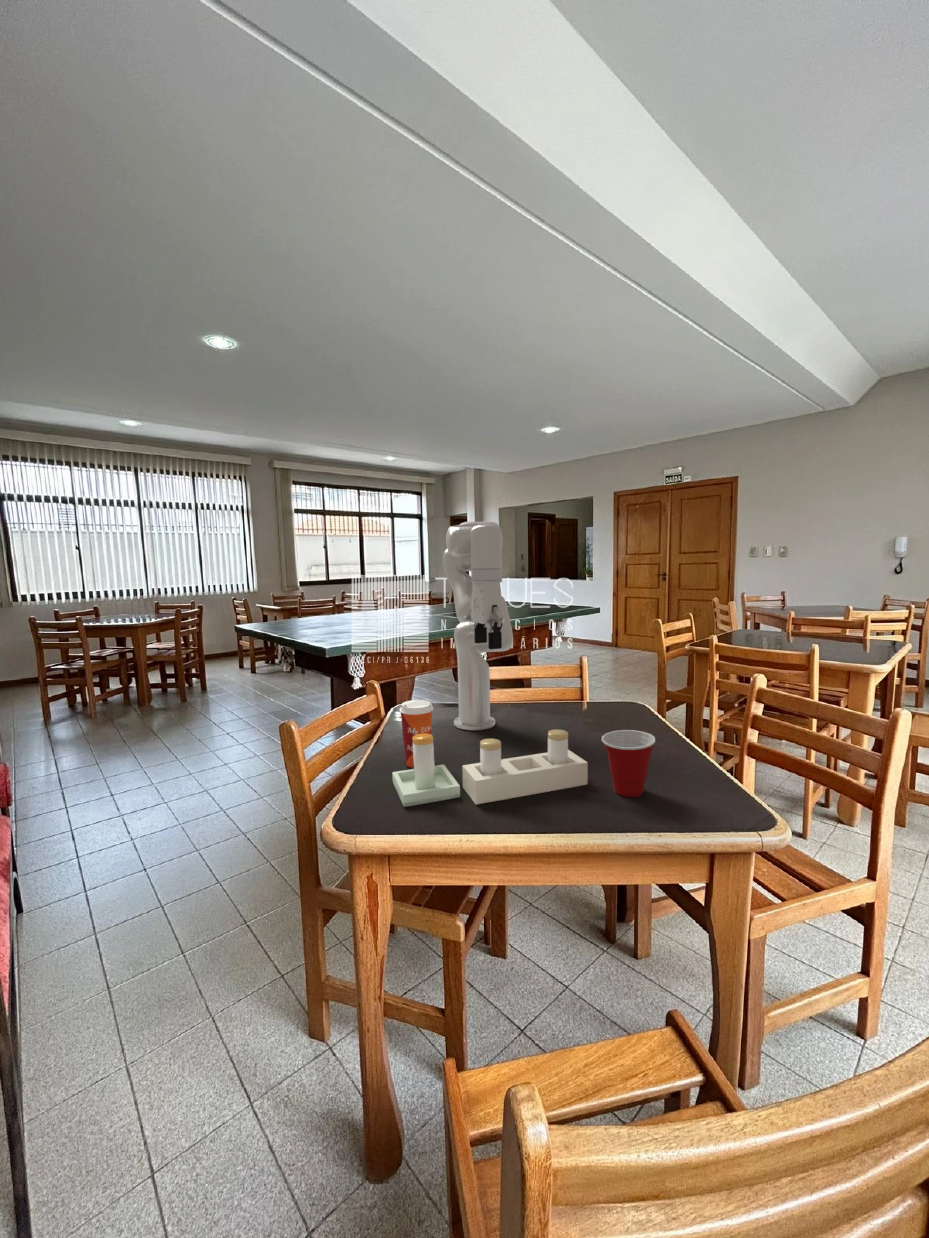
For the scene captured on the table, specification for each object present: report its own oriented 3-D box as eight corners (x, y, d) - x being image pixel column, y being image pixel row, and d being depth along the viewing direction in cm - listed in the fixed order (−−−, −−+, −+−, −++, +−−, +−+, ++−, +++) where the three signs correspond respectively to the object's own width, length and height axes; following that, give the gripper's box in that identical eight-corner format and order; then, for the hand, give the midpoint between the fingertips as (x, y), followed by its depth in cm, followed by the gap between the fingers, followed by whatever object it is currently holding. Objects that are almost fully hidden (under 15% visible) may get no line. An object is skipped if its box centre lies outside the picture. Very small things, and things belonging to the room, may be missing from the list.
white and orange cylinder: (413, 783, 110) (410, 735, 109) (432, 780, 112) (430, 732, 110) (417, 791, 106) (414, 741, 105) (437, 788, 107) (435, 738, 106)
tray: (392, 782, 113) (392, 772, 112) (444, 774, 117) (443, 764, 116) (403, 806, 101) (403, 795, 101) (460, 797, 105) (459, 785, 105)
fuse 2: (544, 777, 114) (544, 730, 113) (561, 774, 115) (561, 728, 114) (553, 785, 110) (553, 737, 108) (571, 782, 111) (571, 734, 110)
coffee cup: (410, 772, 118) (408, 710, 116) (395, 761, 125) (393, 702, 123) (441, 764, 122) (439, 704, 121) (425, 754, 129) (423, 697, 128)
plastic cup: (597, 779, 113) (598, 727, 111) (647, 781, 111) (648, 728, 110) (604, 802, 102) (605, 745, 101) (660, 804, 100) (661, 746, 99)
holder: (462, 787, 110) (462, 765, 109) (567, 769, 118) (567, 749, 117) (475, 804, 102) (475, 780, 101) (587, 784, 110) (587, 762, 110)
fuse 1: (478, 789, 109) (477, 740, 108) (496, 785, 110) (496, 737, 109) (485, 797, 105) (484, 747, 103) (504, 794, 106) (504, 744, 105)
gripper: (461, 576, 129) (462, 641, 131) (484, 577, 113) (486, 652, 115) (488, 575, 132) (489, 639, 134) (515, 576, 116) (516, 650, 117)
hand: (487, 645), depth 124 cm, fingers open, 9 cm apart
